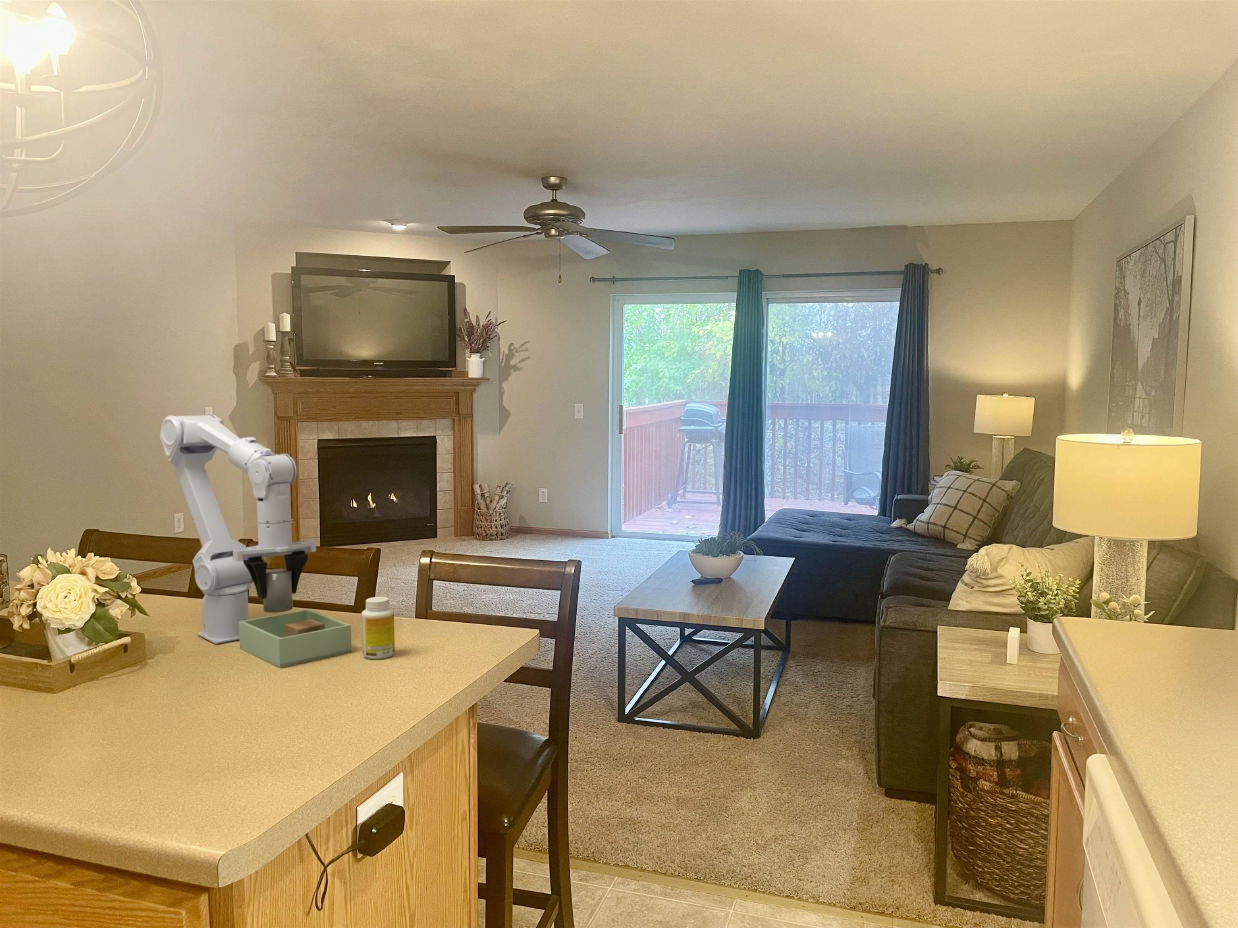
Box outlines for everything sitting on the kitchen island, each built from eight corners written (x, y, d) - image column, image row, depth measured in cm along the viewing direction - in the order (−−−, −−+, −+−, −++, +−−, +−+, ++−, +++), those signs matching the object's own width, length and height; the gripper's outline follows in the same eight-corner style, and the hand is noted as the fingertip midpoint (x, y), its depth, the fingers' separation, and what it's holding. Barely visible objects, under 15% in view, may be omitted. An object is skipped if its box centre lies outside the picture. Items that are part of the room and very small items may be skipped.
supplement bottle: (400, 656, 158) (398, 599, 158) (370, 662, 155) (368, 604, 154) (386, 649, 163) (385, 594, 162) (357, 655, 159) (355, 598, 158)
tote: (240, 648, 164) (238, 621, 164) (308, 634, 173) (307, 608, 173) (280, 668, 152) (278, 639, 151) (351, 652, 161) (350, 624, 160)
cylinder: (259, 609, 163) (258, 571, 163) (286, 604, 166) (285, 567, 166) (269, 613, 159) (268, 575, 159) (297, 609, 163) (295, 571, 162)
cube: (299, 657, 156) (298, 629, 155) (285, 651, 159) (284, 624, 159) (325, 651, 159) (324, 623, 159) (312, 646, 163) (311, 619, 162)
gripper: (242, 527, 154) (245, 605, 155) (322, 519, 164) (324, 592, 165) (227, 523, 159) (230, 598, 160) (305, 515, 169) (308, 586, 170)
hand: (277, 595), depth 163 cm, fingers closed on cylinder, 5 cm apart
